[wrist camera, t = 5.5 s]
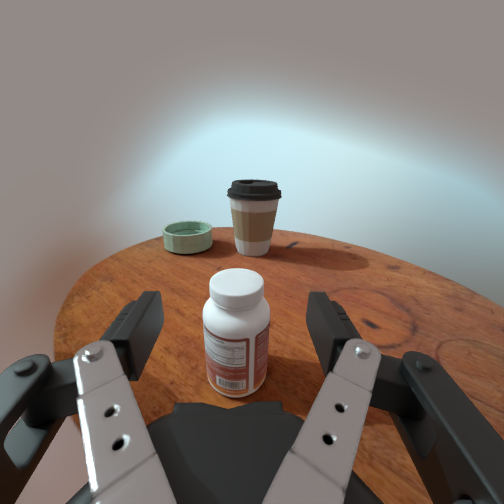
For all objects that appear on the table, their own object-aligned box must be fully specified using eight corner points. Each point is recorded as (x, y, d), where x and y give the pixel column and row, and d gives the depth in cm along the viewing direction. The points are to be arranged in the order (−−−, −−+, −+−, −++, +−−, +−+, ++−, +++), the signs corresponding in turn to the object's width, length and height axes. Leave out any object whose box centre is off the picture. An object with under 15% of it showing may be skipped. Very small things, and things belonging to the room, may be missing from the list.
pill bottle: (248, 342, 29) (250, 259, 25) (278, 382, 24) (288, 288, 20) (198, 362, 26) (191, 272, 22) (221, 412, 21) (217, 310, 17)
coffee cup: (244, 238, 62) (245, 177, 56) (285, 247, 57) (291, 182, 51) (217, 252, 53) (215, 182, 47) (262, 265, 48) (266, 188, 42)
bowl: (178, 260, 49) (176, 239, 47) (157, 244, 56) (154, 226, 55) (221, 247, 56) (221, 229, 54) (197, 235, 63) (196, 218, 61)
